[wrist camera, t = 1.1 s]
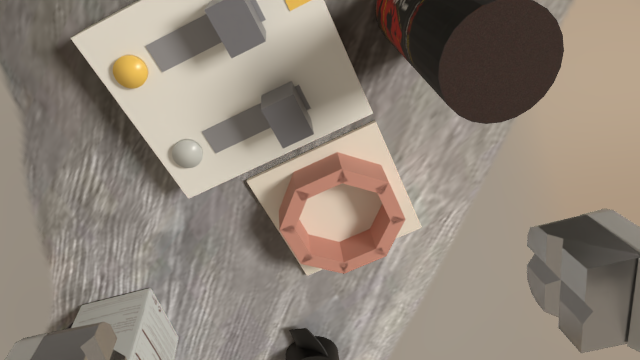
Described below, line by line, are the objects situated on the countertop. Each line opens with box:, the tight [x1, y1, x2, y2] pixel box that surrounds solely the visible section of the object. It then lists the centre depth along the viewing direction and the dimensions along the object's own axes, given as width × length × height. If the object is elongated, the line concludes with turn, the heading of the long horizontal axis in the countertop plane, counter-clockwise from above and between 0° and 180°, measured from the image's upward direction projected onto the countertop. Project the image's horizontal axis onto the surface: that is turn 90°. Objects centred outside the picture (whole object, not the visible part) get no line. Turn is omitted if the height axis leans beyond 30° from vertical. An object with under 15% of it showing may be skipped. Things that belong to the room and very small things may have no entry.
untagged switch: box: [261, 81, 314, 148], centre depth 33 cm, size 2×3×3 cm
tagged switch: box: [204, 0, 266, 58], centre depth 30 cm, size 2×3×3 cm
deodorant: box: [376, 0, 564, 124], centre depth 29 cm, size 6×6×15 cm
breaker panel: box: [71, 0, 373, 199], centre depth 35 cm, size 16×14×4 cm
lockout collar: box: [247, 120, 422, 276], centre depth 42 cm, size 12×12×3 cm
